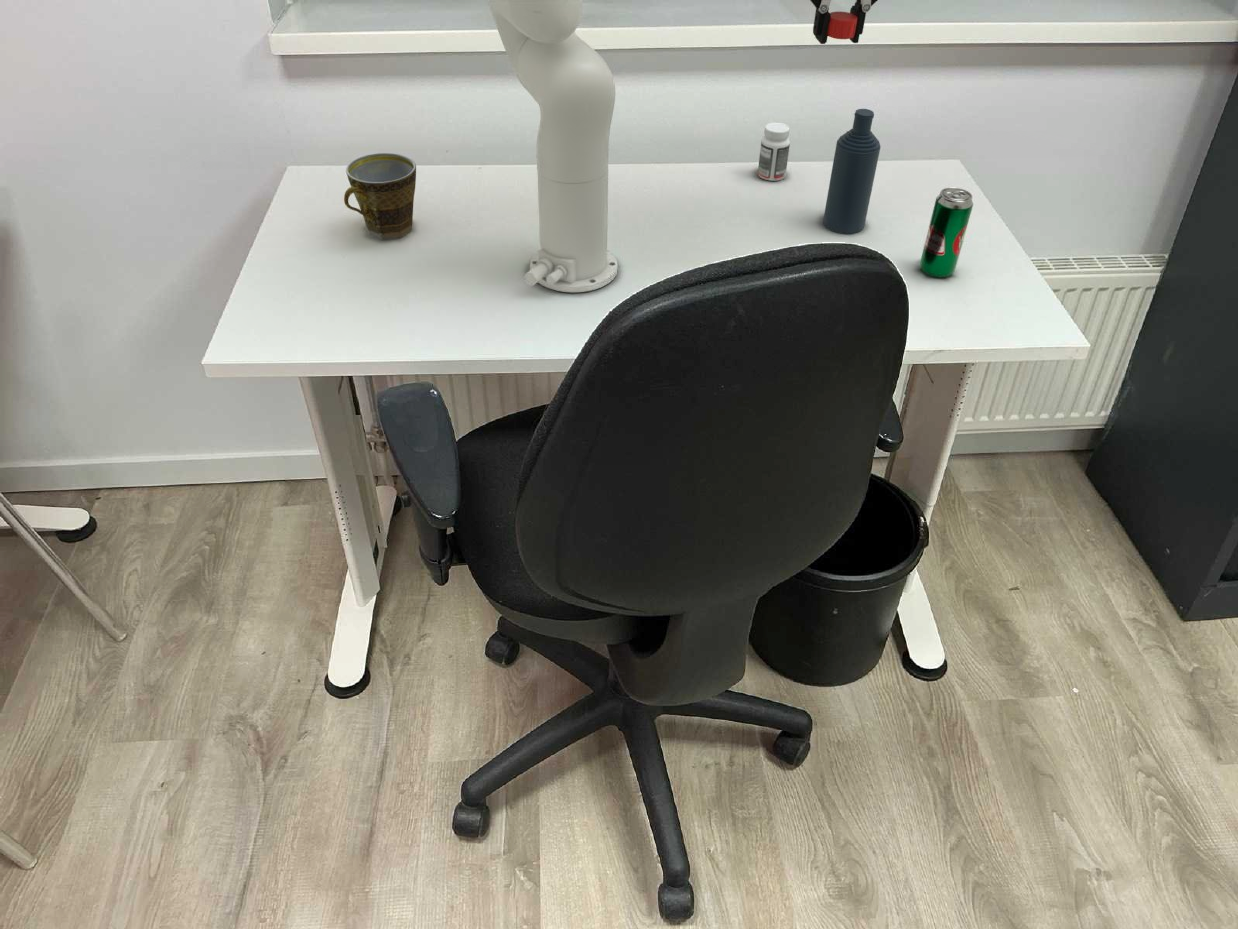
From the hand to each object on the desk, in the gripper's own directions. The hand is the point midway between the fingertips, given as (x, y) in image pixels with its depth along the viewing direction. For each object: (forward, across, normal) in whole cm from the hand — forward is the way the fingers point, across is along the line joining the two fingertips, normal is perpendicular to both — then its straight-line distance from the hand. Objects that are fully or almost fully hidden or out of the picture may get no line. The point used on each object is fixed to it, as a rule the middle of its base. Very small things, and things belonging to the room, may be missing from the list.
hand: (836, 38), depth 136 cm
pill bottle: (+28, -1, +17) cm, 33 cm away
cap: (-3, 0, -1) cm, 3 cm away
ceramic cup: (+28, -65, +4) cm, 71 cm away
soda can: (+28, +15, -16) cm, 36 cm away
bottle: (+28, +6, 0) cm, 29 cm away
